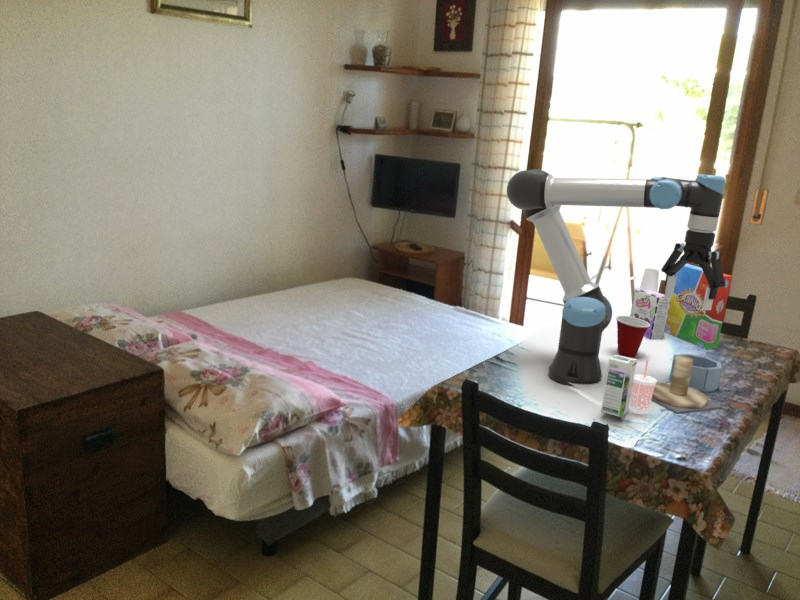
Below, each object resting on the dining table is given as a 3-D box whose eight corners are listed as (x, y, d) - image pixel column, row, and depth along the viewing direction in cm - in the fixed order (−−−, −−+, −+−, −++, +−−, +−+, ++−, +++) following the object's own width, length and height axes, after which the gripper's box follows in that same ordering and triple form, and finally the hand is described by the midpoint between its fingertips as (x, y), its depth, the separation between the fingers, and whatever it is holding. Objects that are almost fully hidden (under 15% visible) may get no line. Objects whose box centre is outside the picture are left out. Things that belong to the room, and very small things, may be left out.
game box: (661, 335, 251) (674, 263, 245) (673, 334, 253) (685, 262, 247) (706, 352, 233) (720, 275, 226) (717, 351, 235) (732, 275, 228)
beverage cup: (654, 411, 176) (663, 360, 173) (645, 417, 171) (654, 365, 168) (632, 404, 180) (640, 354, 177) (622, 410, 175) (630, 358, 172)
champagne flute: (633, 329, 256) (644, 267, 251) (652, 333, 253) (663, 270, 247) (629, 332, 251) (640, 269, 245) (648, 336, 247) (659, 272, 242)
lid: (677, 411, 176) (684, 369, 173) (636, 390, 189) (643, 350, 187) (719, 406, 182) (727, 365, 179) (677, 386, 195) (684, 348, 193)
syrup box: (600, 412, 173) (608, 358, 169) (607, 405, 178) (615, 353, 174) (622, 418, 170) (631, 363, 166) (629, 411, 175) (637, 358, 171)
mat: (676, 413, 176) (677, 412, 175) (634, 391, 190) (634, 389, 190) (722, 408, 182) (722, 406, 182) (677, 386, 196) (677, 385, 196)
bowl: (693, 393, 191) (697, 370, 190) (659, 377, 203) (663, 355, 201) (727, 390, 196) (731, 367, 195) (692, 374, 208) (696, 353, 206)
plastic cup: (640, 362, 216) (646, 326, 213) (606, 354, 222) (612, 319, 219) (648, 354, 225) (654, 320, 222) (615, 347, 231) (620, 313, 228)
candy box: (626, 330, 253) (634, 287, 250) (640, 330, 255) (647, 287, 251) (649, 341, 241) (657, 296, 237) (663, 341, 242) (672, 296, 239)
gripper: (749, 238, 181) (733, 314, 186) (675, 223, 203) (662, 292, 208) (730, 238, 178) (714, 316, 183) (657, 223, 199) (644, 293, 204)
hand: (686, 303), depth 195 cm, fingers open, 13 cm apart
